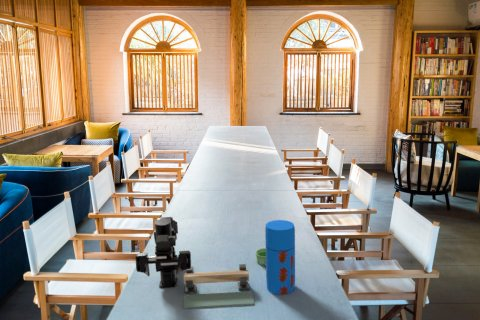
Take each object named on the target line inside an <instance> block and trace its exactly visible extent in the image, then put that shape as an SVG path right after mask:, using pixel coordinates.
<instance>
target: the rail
mask: <svg viewBox="0 0 480 320" xmlns="http://www.w3.org/2000/svg"><path fill="white" fill-rule="evenodd" d="M246 277H247V282H249V281H250V275H249V269H246V270H239V269H238V270H218V271H200V272H199V271H198V272H194V273H186V272H184V273H183V284H184V285H186V281H189V280H193V284H196V285H197V284H198V285H199V284H212V283H213V284H215V283H217V284H218V283H231V282H232V283H234V282H237V283H238V282H240V278H246Z"/></svg>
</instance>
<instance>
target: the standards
mask: <svg viewBox="0 0 480 320" xmlns="http://www.w3.org/2000/svg"><path fill="white" fill-rule="evenodd" d="M238 265H239V266H238V268H239V269H238V270H247V265H246V264H245V263H241V264H240V263H239V264H238ZM185 271H186V272H185V273H195V272H194V266H191V268H190V269H187V270H185ZM237 289H238V291H249V290H250V285H249V281H247V277H246V278H240V281H237ZM196 291H197V284H193V280H189V281H186V284H185V288H184V294H197V293H196Z"/></svg>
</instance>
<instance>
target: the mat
mask: <svg viewBox="0 0 480 320" xmlns="http://www.w3.org/2000/svg"><path fill="white" fill-rule="evenodd" d="M254 305H255V300H254V295H253V291H251V290H250V291H249V290H247V291H233V292H232V291H229V292H214V293H213V292H212V293H198V294H197V293H191V294H184V296H183V304H182V309H183V310H185V309H186V310H187V309H200V308H202V309H203V308H205V307H206V308H221V307H236V306H237V307H238V306H240V307H241V306H242V307H243V306H254Z"/></svg>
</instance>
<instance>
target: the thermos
mask: <svg viewBox="0 0 480 320" xmlns="http://www.w3.org/2000/svg"><path fill="white" fill-rule="evenodd" d="M264 230H265V231H264V233H265V248H266V266H265V277H266V278H265V279H266V289H267V291H268V292H270V293H271V294H275V295H288V294H291V293H293V292H294V291H295V288H296V229H295V224H294V222H292V221H289V220H284V219H276V220H271V221H267V223H266V224H265V229H264Z"/></svg>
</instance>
